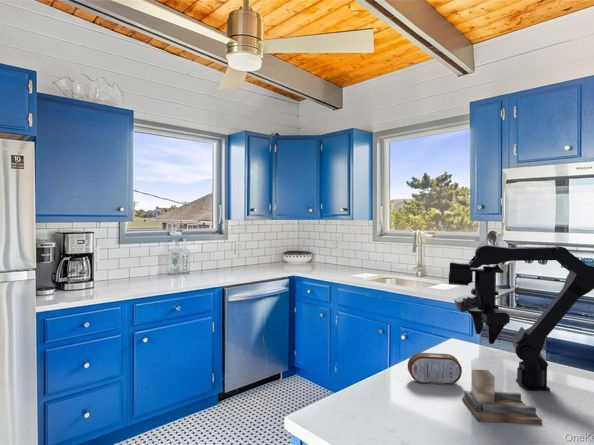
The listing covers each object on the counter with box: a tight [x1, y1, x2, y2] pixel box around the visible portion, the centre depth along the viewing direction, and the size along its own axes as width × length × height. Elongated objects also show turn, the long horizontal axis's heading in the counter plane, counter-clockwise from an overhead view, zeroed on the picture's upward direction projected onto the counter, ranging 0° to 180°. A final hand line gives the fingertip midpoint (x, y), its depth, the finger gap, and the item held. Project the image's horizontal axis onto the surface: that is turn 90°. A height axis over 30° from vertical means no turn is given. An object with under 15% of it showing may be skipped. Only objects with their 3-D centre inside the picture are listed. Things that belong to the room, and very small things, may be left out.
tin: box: [407, 352, 463, 385], centre depth 113 cm, size 15×3×8 cm, turn 84°
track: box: [461, 390, 543, 425], centre depth 96 cm, size 14×10×2 cm
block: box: [471, 369, 496, 406], centre depth 98 cm, size 4×4×8 cm
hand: (484, 338), depth 115 cm, fingers open, 9 cm apart
